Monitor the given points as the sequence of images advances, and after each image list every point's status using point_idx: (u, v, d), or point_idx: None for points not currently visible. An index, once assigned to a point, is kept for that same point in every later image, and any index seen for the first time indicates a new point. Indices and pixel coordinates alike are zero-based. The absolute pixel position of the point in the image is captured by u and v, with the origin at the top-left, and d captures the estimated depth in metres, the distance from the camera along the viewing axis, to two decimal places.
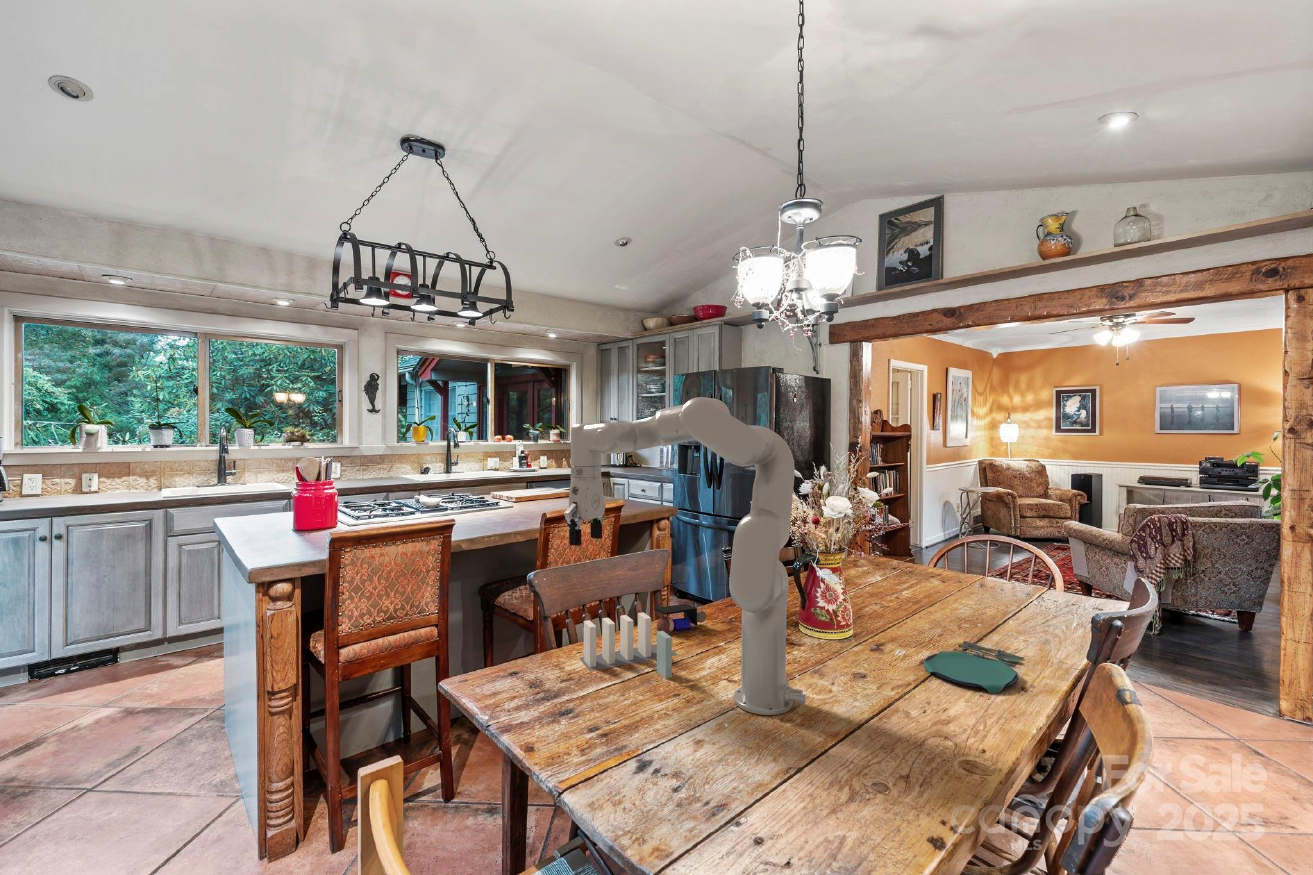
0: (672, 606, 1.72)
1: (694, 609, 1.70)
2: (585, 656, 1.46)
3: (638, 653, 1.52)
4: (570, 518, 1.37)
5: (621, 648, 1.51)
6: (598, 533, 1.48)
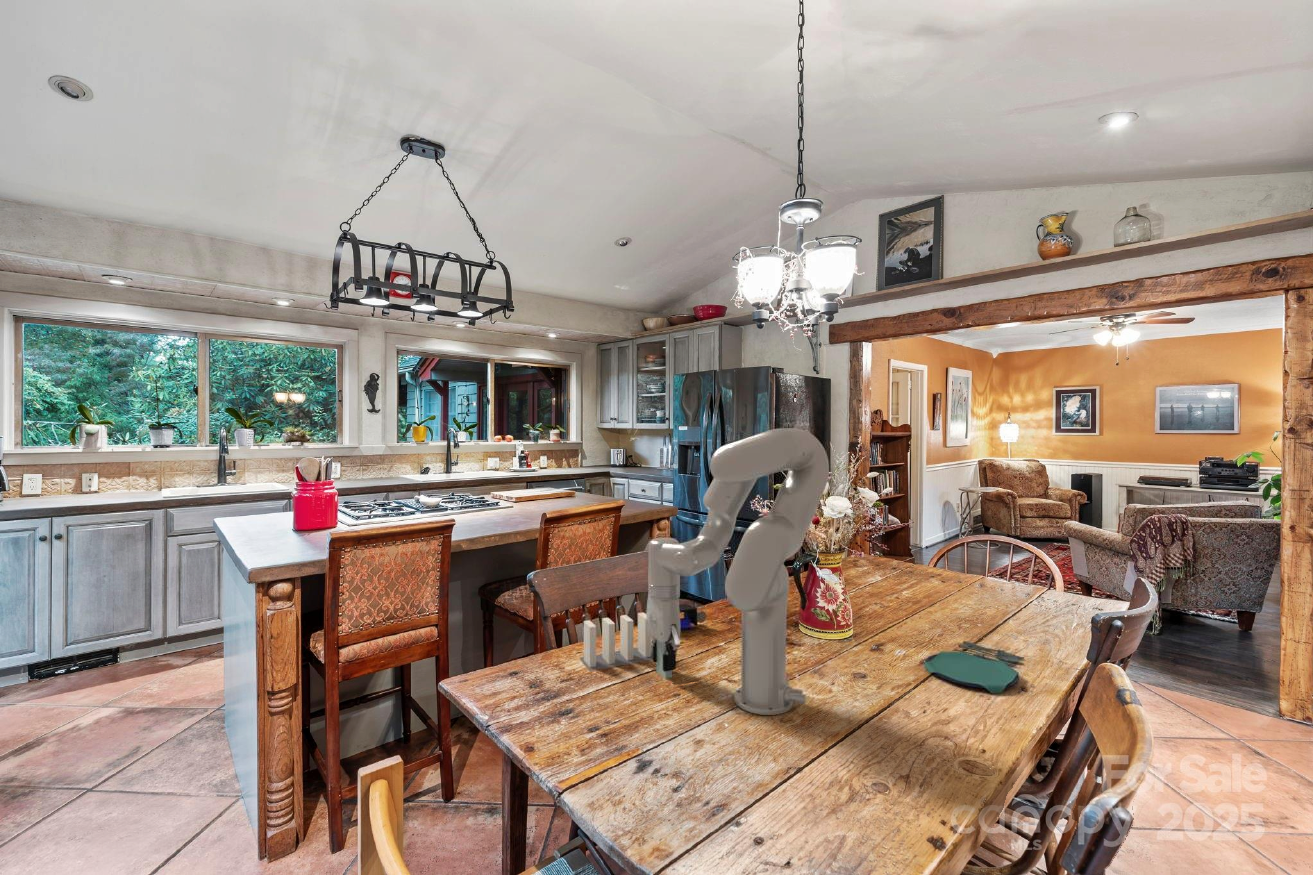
0: None
1: (694, 609, 1.70)
2: (585, 656, 1.46)
3: (638, 653, 1.52)
4: None
5: (621, 648, 1.51)
6: None
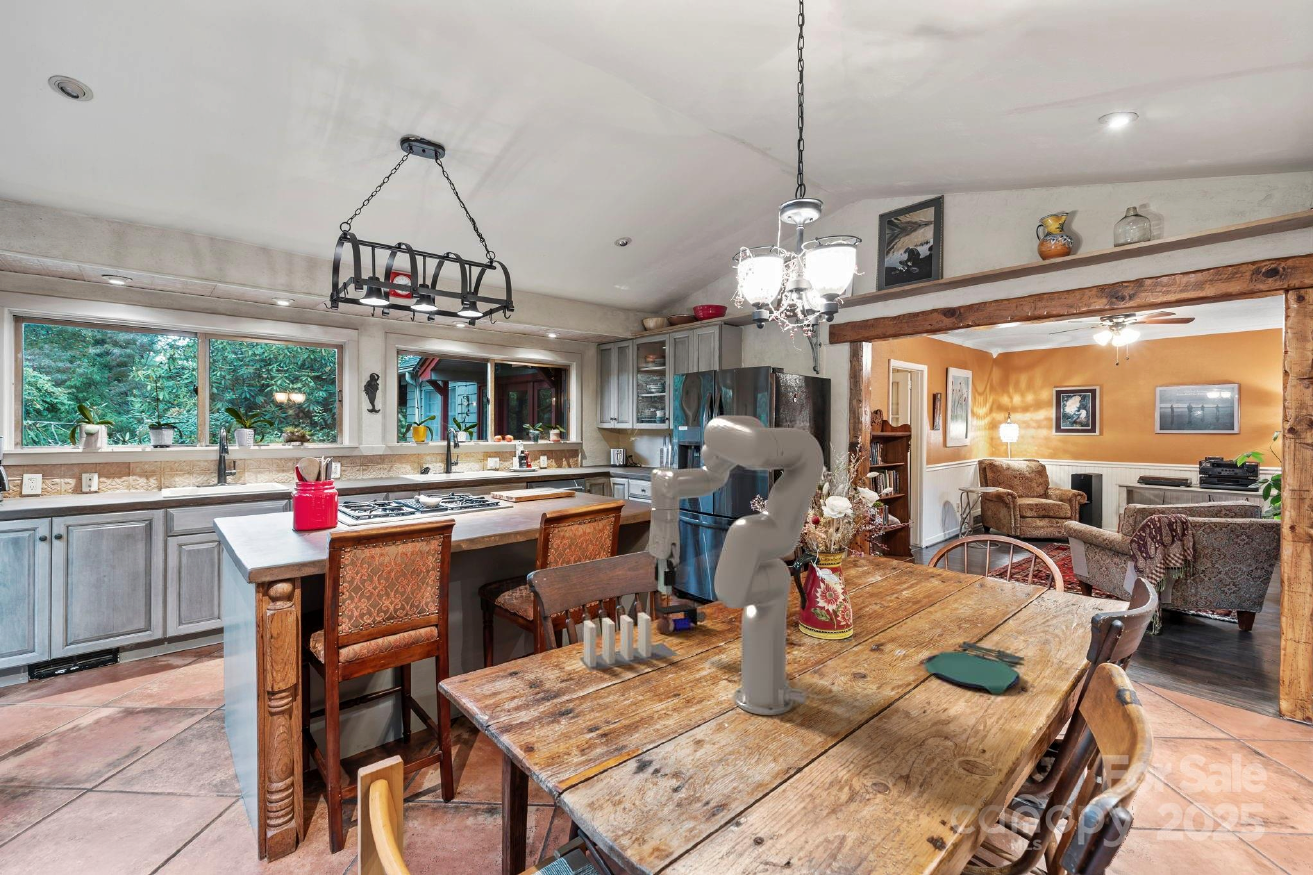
0: (672, 606, 1.72)
1: (694, 609, 1.70)
2: (585, 656, 1.46)
3: (638, 653, 1.52)
4: None
5: (621, 648, 1.51)
6: None
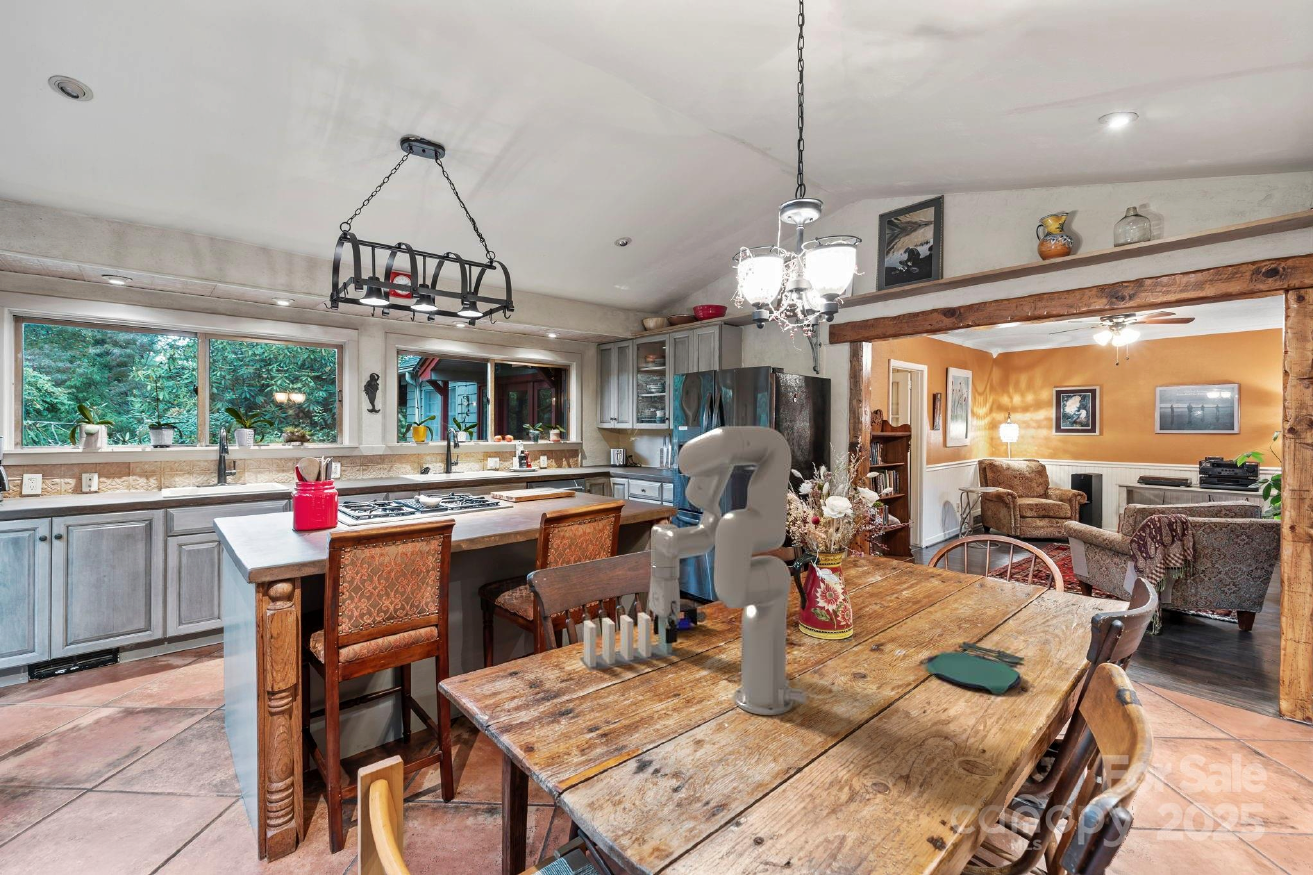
0: None
1: (694, 609, 1.70)
2: (585, 656, 1.46)
3: (638, 653, 1.52)
4: None
5: (621, 648, 1.51)
6: None
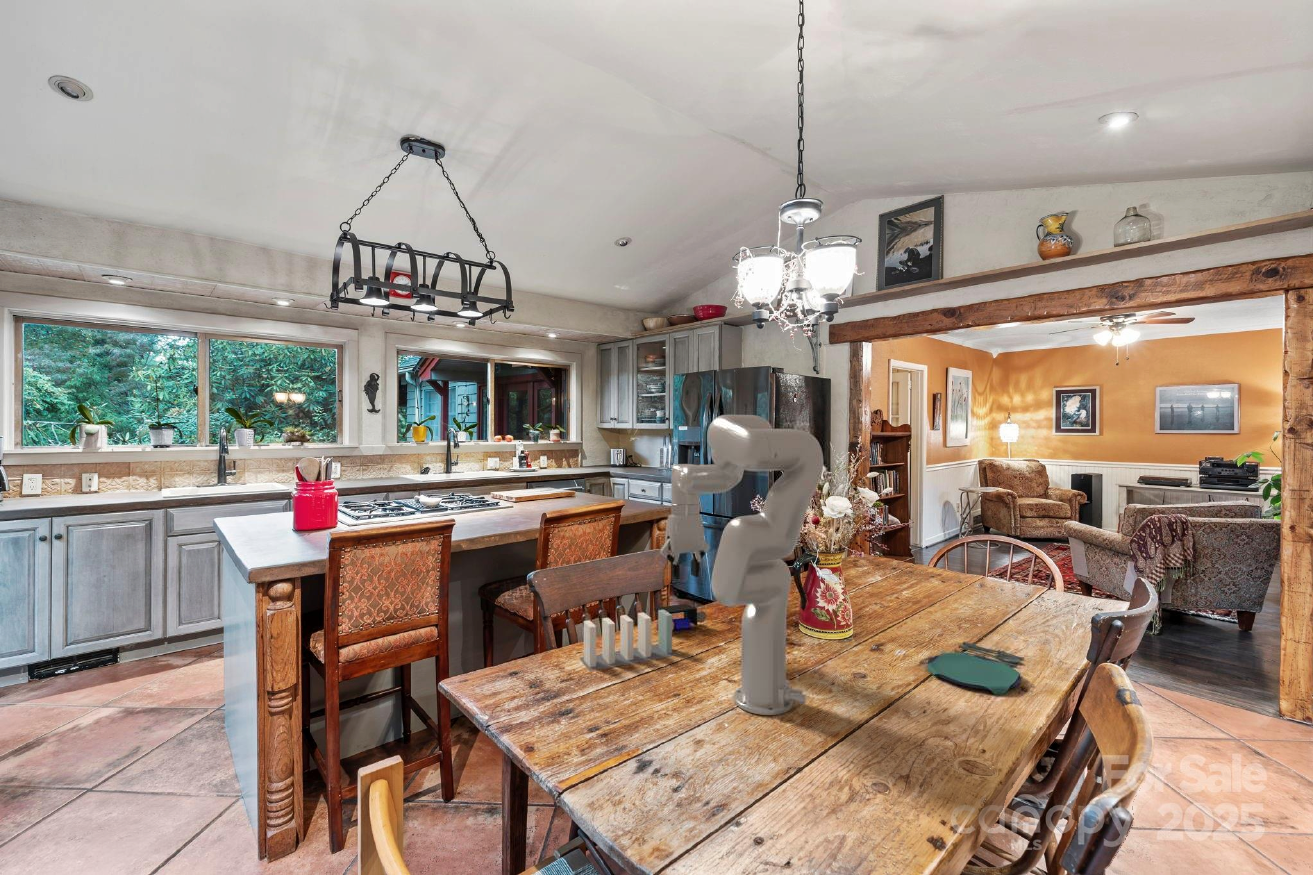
0: (672, 606, 1.72)
1: (694, 609, 1.70)
2: (585, 656, 1.46)
3: (638, 653, 1.52)
4: None
5: (621, 648, 1.51)
6: None
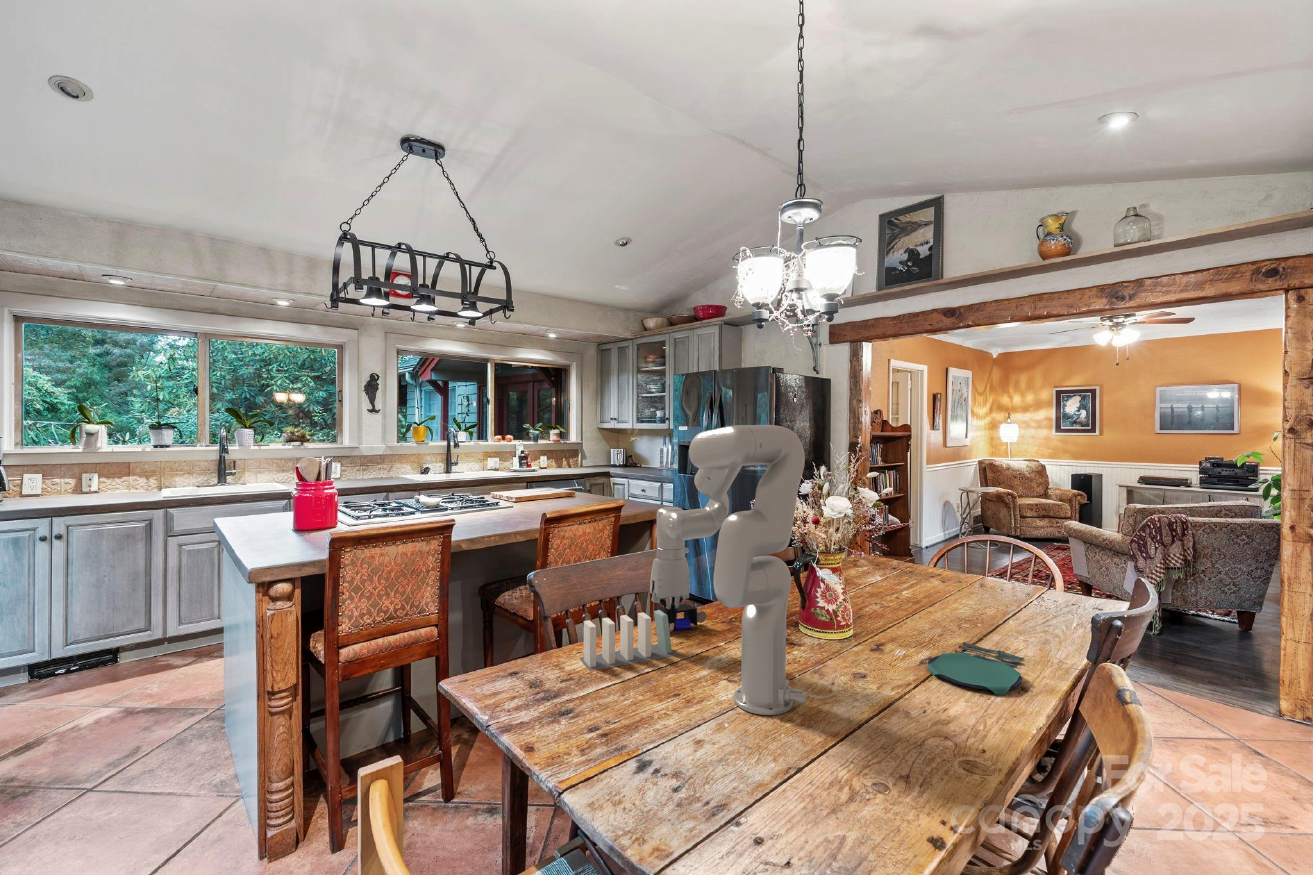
0: None
1: (694, 609, 1.70)
2: (585, 656, 1.46)
3: (638, 653, 1.52)
4: None
5: (621, 648, 1.51)
6: None
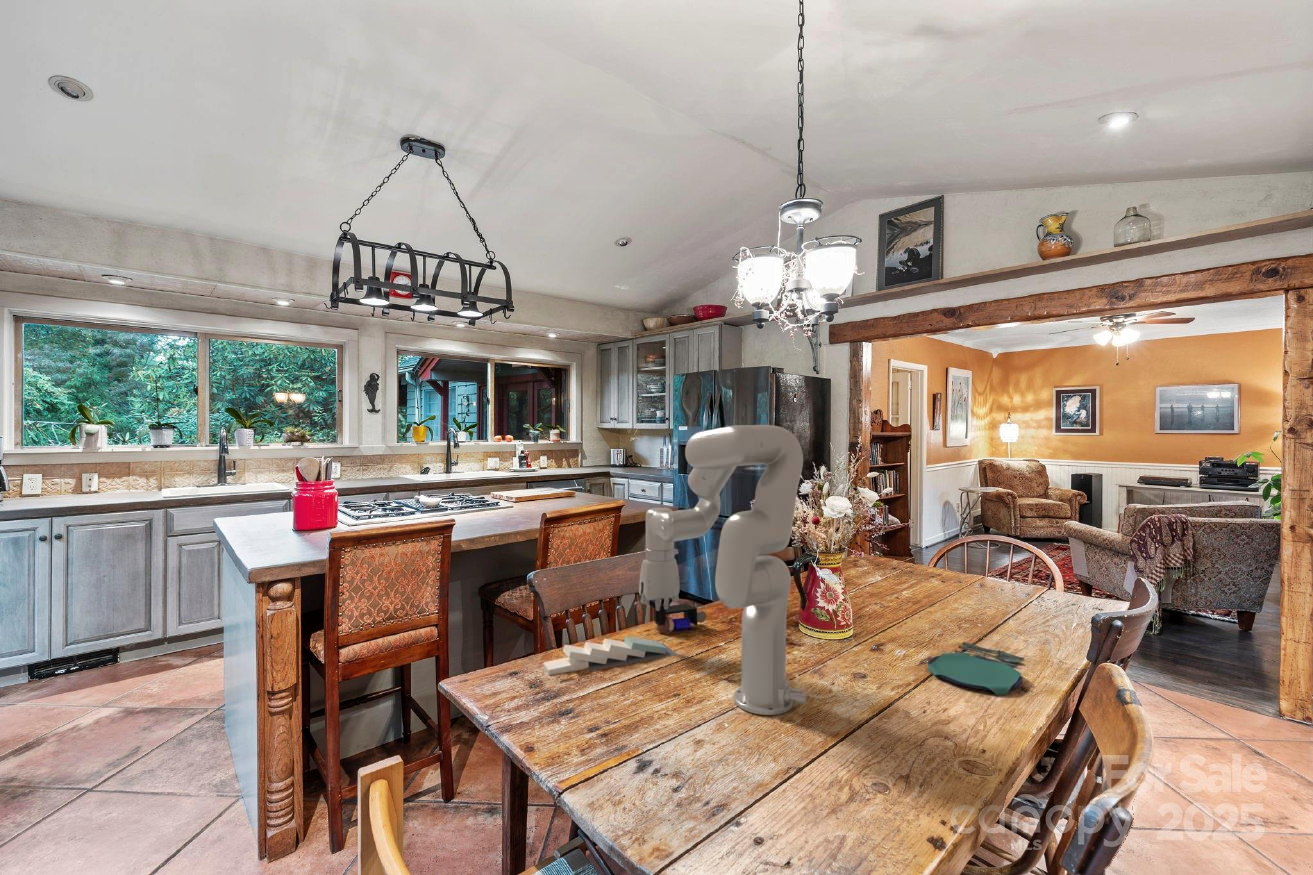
0: (672, 606, 1.72)
1: (694, 609, 1.70)
2: None
3: None
4: None
5: None
6: None
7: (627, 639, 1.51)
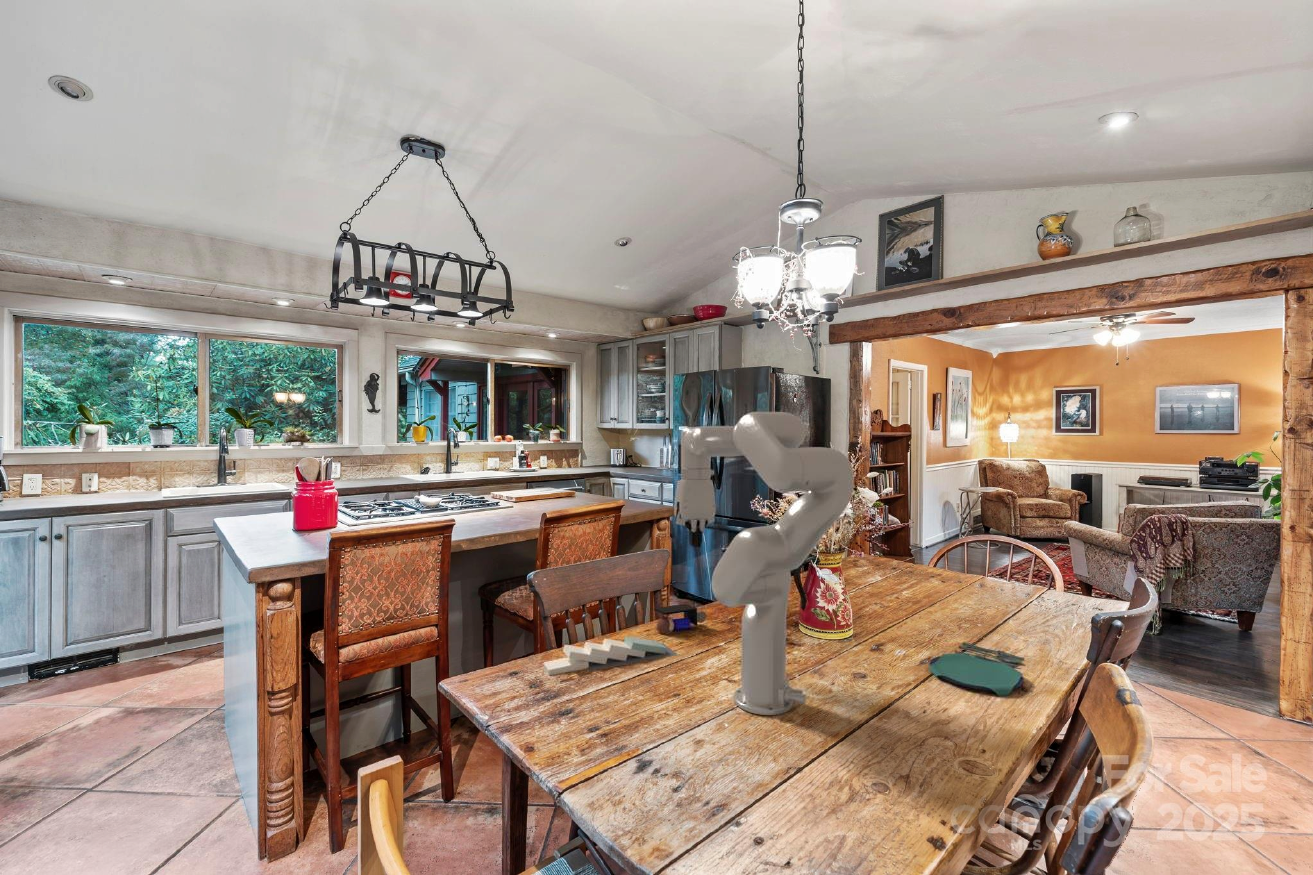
0: (672, 606, 1.72)
1: (694, 609, 1.70)
2: None
3: None
4: None
5: None
6: None
7: (627, 639, 1.51)
